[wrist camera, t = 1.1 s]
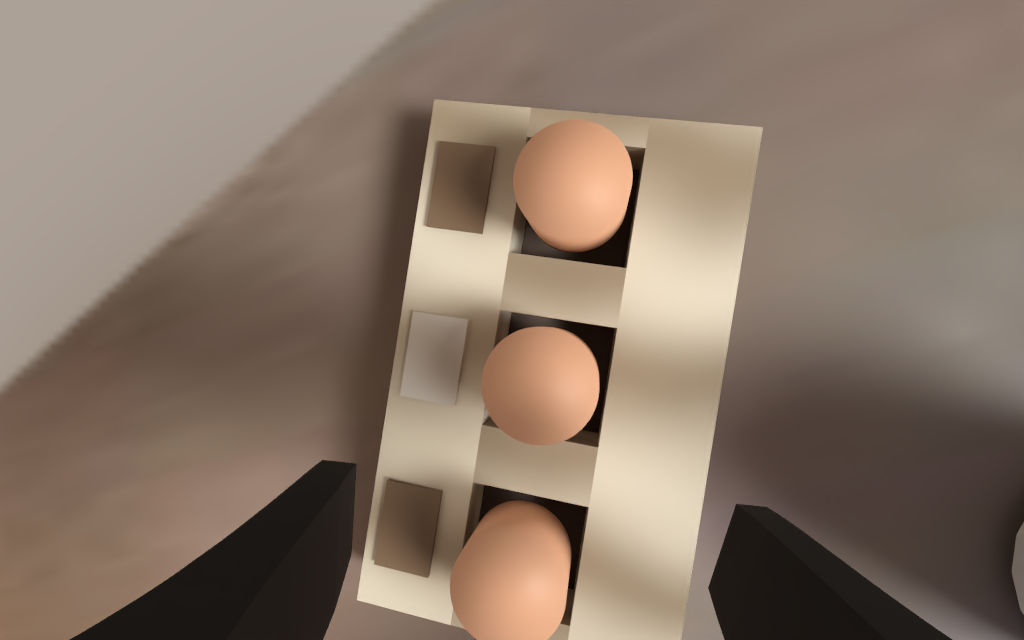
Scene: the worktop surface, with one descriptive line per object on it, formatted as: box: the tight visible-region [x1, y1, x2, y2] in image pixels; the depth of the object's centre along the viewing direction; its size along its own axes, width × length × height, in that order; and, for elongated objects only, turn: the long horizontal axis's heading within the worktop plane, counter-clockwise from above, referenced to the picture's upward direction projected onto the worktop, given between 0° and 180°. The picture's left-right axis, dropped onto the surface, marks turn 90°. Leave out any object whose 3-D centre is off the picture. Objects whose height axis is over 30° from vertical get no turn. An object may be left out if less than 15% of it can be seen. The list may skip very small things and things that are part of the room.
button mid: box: [481, 327, 599, 445], centre depth 16 cm, size 3×3×3 cm
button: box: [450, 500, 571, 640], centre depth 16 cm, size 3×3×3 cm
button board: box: [357, 100, 763, 640], centre depth 18 cm, size 18×11×3 cm, turn 171°
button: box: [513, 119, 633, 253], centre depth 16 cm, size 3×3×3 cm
